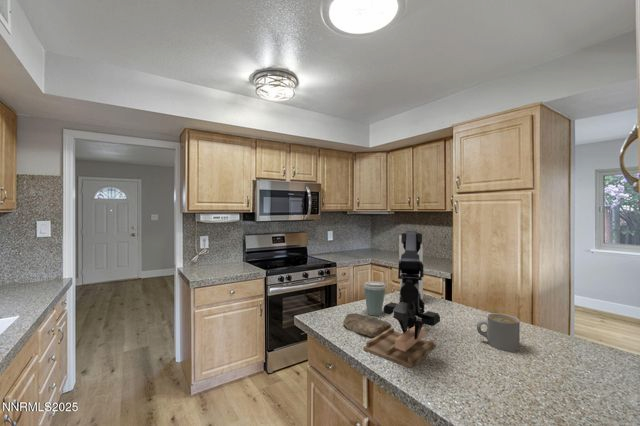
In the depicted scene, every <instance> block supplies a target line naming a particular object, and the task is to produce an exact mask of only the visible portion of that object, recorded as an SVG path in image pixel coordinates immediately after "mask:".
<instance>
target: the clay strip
mask: <svg viewBox="0 0 640 426" xmlns="http://www.w3.org/2000/svg"><path fill="white" fill-rule="evenodd" d="M402 333H403V332H402ZM425 336H426V327H425V326H423V327H422V329H421V331H420V333H419V336H418V338H417V339H415V326H413V327H412V328H409V329H407V331H406V332H405V333H403V334H402V335H400V336H399V337H398V338H396V339H395V348H396V349H399V350H402V351H406V350H408V349H409V348H410V347H411V346H413V345H414V344H415V343H416V342H418V341H419V340H420V339H424V337H425Z"/></svg>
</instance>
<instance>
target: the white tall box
mask: <svg viewBox="0 0 640 426" xmlns="http://www.w3.org/2000/svg"><path fill="white" fill-rule="evenodd" d="M401 235H402V234H401ZM401 235H399V236H398V239H399V241H398V243H399V246H398V250H399V254H398V255H399V256H398V258H399V260H401V255H402V254H403V253H405V249H404V248H403V244H402V242H401ZM423 241H424V240H423V236H422V244H421V248H420V250H419V251H418V253H417V254H418V255H419V261H422V264H423V261H424V257H423V255H424V254H423V253H424V249H423V247H424V246H423V244H424V243H423ZM399 260H398V261H399ZM423 265H424V264H423ZM401 274H402V273H400V276H401ZM418 275H419V277H420V274H418ZM423 283H424V277H422V280H419V292H420V294H421V299H423V300H424V284H423ZM401 285H402V279H399V290H400V289H401ZM400 297H401V295H400V294H399V298H400Z"/></svg>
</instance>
